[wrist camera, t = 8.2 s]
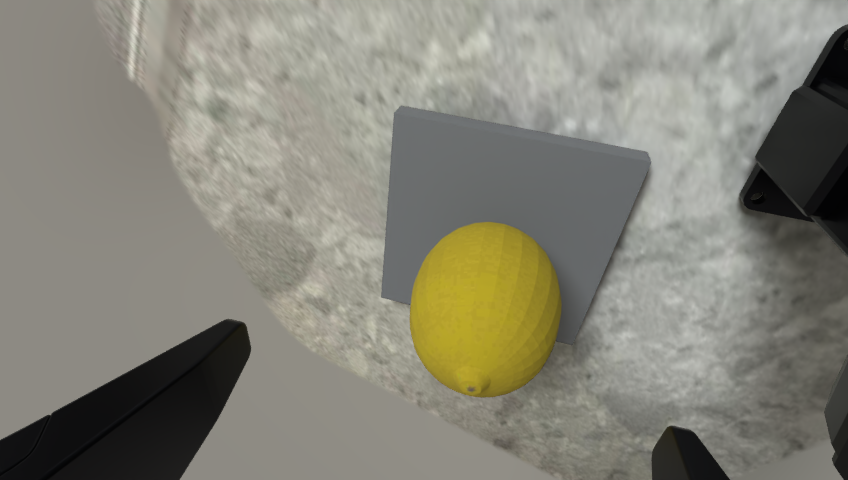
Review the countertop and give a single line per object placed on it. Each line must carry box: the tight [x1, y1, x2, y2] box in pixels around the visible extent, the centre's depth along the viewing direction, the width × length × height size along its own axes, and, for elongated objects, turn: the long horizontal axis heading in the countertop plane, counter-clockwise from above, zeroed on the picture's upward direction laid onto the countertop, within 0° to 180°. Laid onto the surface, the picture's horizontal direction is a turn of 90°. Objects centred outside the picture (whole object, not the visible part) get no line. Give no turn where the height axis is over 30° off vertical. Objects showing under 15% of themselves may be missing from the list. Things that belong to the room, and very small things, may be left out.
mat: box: [381, 106, 651, 345], centre depth 21 cm, size 10×10×1 cm
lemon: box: [410, 222, 562, 397], centre depth 17 cm, size 6×6×8 cm
